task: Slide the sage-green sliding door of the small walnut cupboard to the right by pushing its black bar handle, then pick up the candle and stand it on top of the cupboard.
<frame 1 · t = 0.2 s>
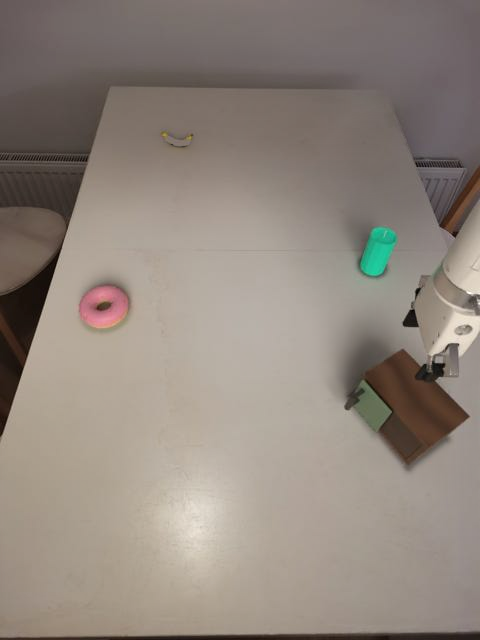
hand: (417, 351, 68), 22 cm above the table, tool pointing down, fingers open, 9 cm apart
doughnut: (106, 311, 98), on the table
fruit: (178, 146, 134), on the table
candle: (371, 267, 107), on the table
sliding door: (363, 410, 79), point 5 cm above the table, slide at 0.0 cm
cupboard: (396, 417, 84), on the table
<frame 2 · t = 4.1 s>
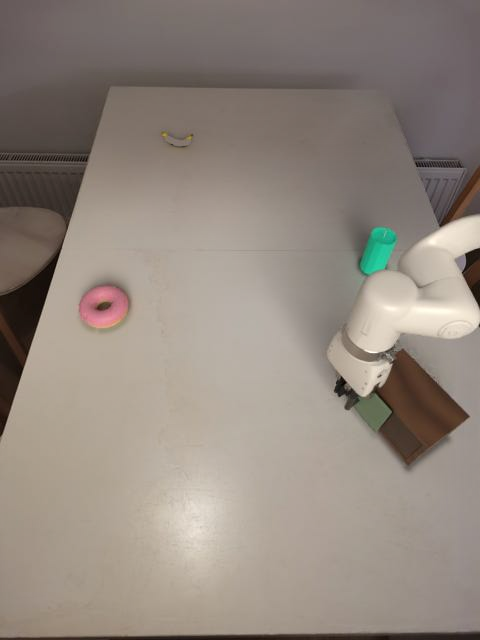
hand: (342, 390, 80), 7 cm above the table, tool pointing down, fingers closed
sliding door: (363, 410, 79), point 5 cm above the table, slide at 0.0 cm, touching gripper
everything else where it was.
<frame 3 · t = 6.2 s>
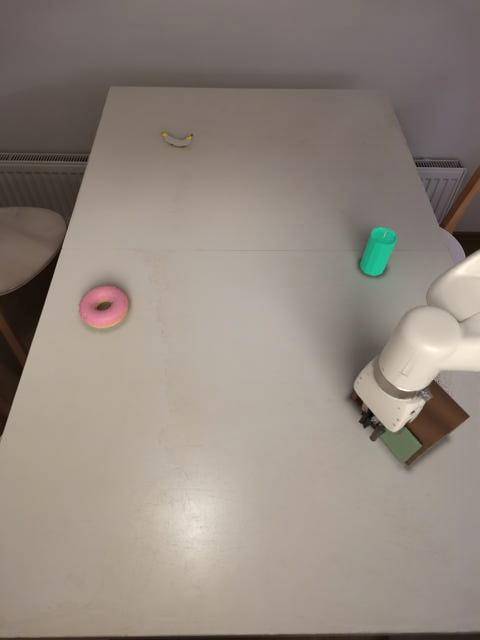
hand: (367, 421, 77), 7 cm above the table, tool pointing down, fingers closed
sliding door: (390, 442, 76), point 5 cm above the table, slide at 7.1 cm, touching gripper
everything else where it was.
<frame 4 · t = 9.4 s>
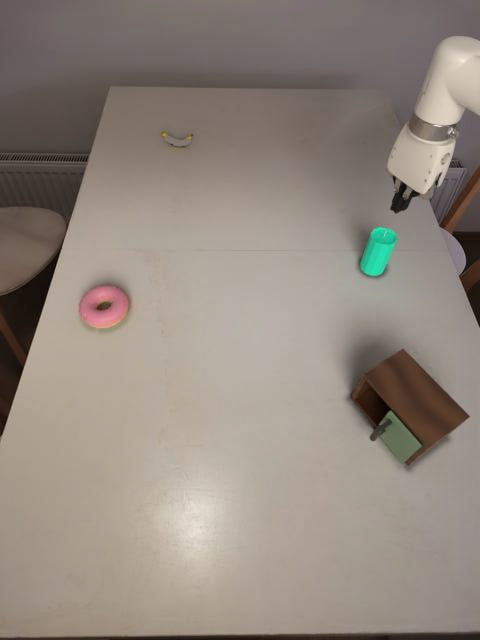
hand: (397, 209, 87), 21 cm above the table, tool pointing down, fingers closed
sliding door: (389, 442, 76), point 5 cm above the table, slide at 7.0 cm
everything else where it was.
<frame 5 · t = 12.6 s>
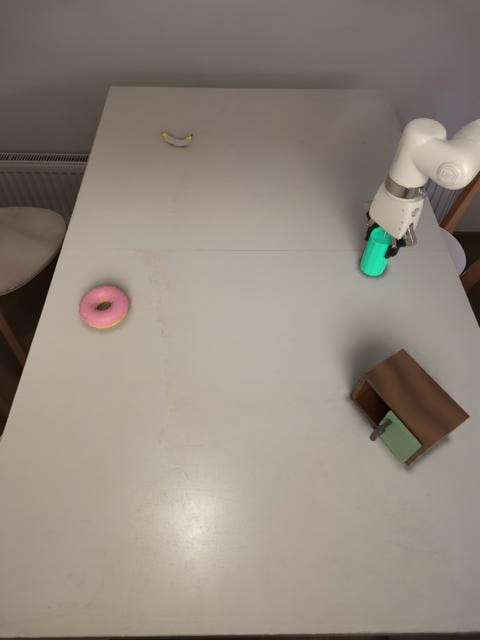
hand: (380, 246, 101), 7 cm above the table, tool pointing down, fingers closed on candle, 6 cm apart
candle: (371, 267, 107), on the table, touching gripper
everything else where it was.
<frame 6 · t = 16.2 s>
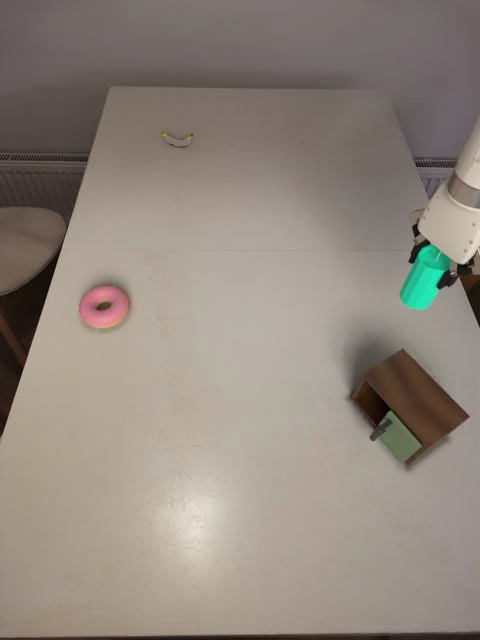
hand: (429, 271, 74), 24 cm above the table, tool pointing down, fingers closed on candle, 6 cm apart
candle: (415, 297, 80), point 17 cm above the table, touching gripper
everything else where it was.
when the fingers open (17 cm above the table, at t = 19.9 s): candle stays where it is, resting on cupboard.
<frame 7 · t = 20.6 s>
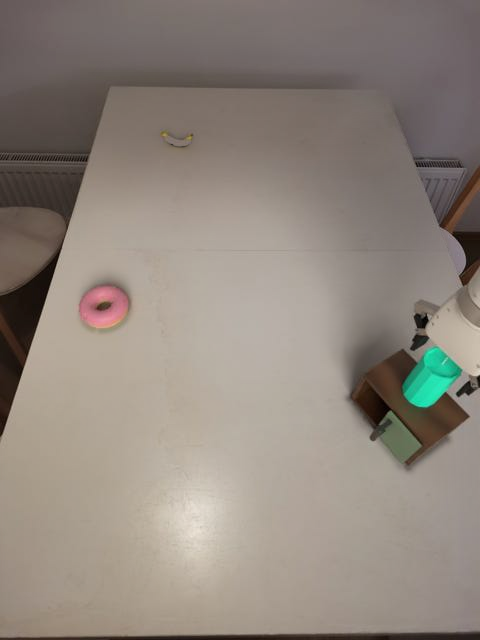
hand: (439, 368, 69), 19 cm above the table, tool pointing down, fingers open, 9 cm apart
candle: (419, 392, 76), point 10 cm above the table, touching cupboard
everything else where it was.
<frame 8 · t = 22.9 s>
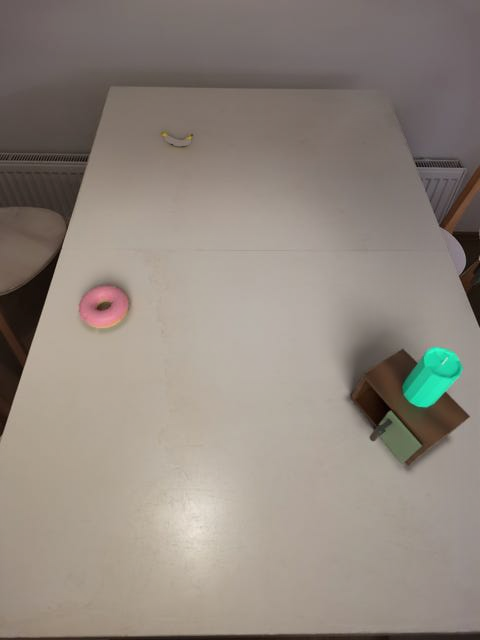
nothing on the table moved.
at the end: sliding door slide at 7.0 cm; candle inside the target area on the cupboard (1.0 cm from its centre), point 10.3 cm above the cupboard's base; candle tilted 0° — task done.
